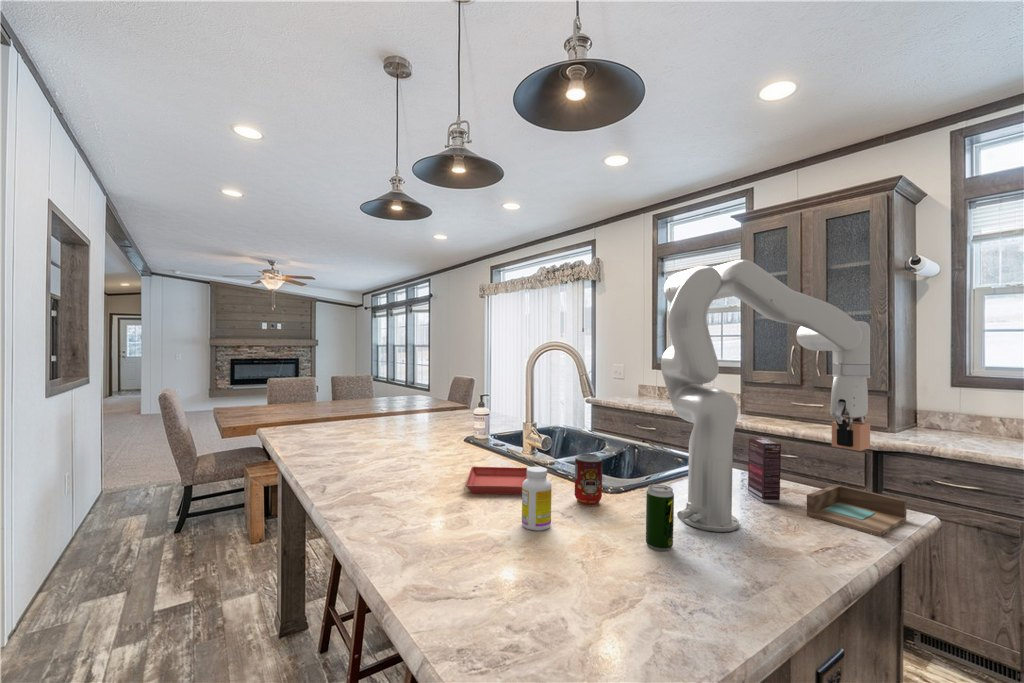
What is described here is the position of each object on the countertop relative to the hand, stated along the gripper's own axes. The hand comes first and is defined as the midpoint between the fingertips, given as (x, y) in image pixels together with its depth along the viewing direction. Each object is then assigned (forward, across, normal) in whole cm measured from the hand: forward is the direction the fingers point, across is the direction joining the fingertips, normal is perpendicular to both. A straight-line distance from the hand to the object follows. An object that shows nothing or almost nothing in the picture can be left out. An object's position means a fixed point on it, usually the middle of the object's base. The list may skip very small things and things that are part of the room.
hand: (850, 443), depth 114 cm
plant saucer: (+18, +61, -65) cm, 91 cm away
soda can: (+17, +49, -41) cm, 66 cm away
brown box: (+1, 0, 0) cm, 1 cm away
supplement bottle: (+17, +70, -36) cm, 81 cm away
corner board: (+18, 0, +1) cm, 18 cm away
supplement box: (+18, +5, -19) cm, 27 cm away
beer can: (+17, +55, -14) cm, 59 cm away
